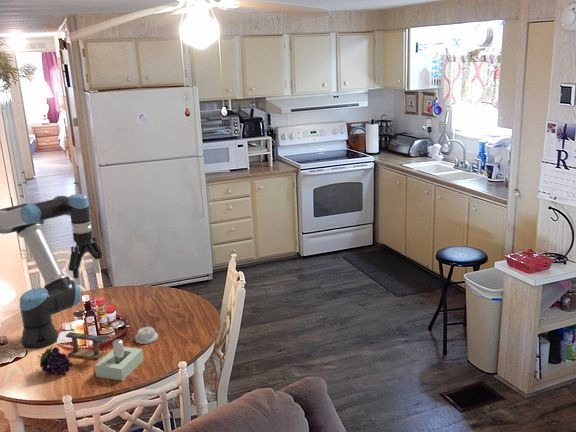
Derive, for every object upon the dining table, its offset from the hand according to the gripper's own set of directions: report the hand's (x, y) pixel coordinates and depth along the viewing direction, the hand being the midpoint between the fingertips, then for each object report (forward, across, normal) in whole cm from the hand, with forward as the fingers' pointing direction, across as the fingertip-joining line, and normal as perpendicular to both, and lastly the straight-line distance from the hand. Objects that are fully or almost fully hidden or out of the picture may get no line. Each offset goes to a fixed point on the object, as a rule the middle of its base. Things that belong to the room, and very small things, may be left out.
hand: (88, 278), depth 240 cm
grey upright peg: (+31, -16, -22) cm, 41 cm away
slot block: (+31, -16, -22) cm, 41 cm away
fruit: (+31, -24, +3) cm, 39 cm away
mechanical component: (+31, +9, -20) cm, 38 cm away
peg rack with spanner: (+31, -10, -3) cm, 32 cm away
